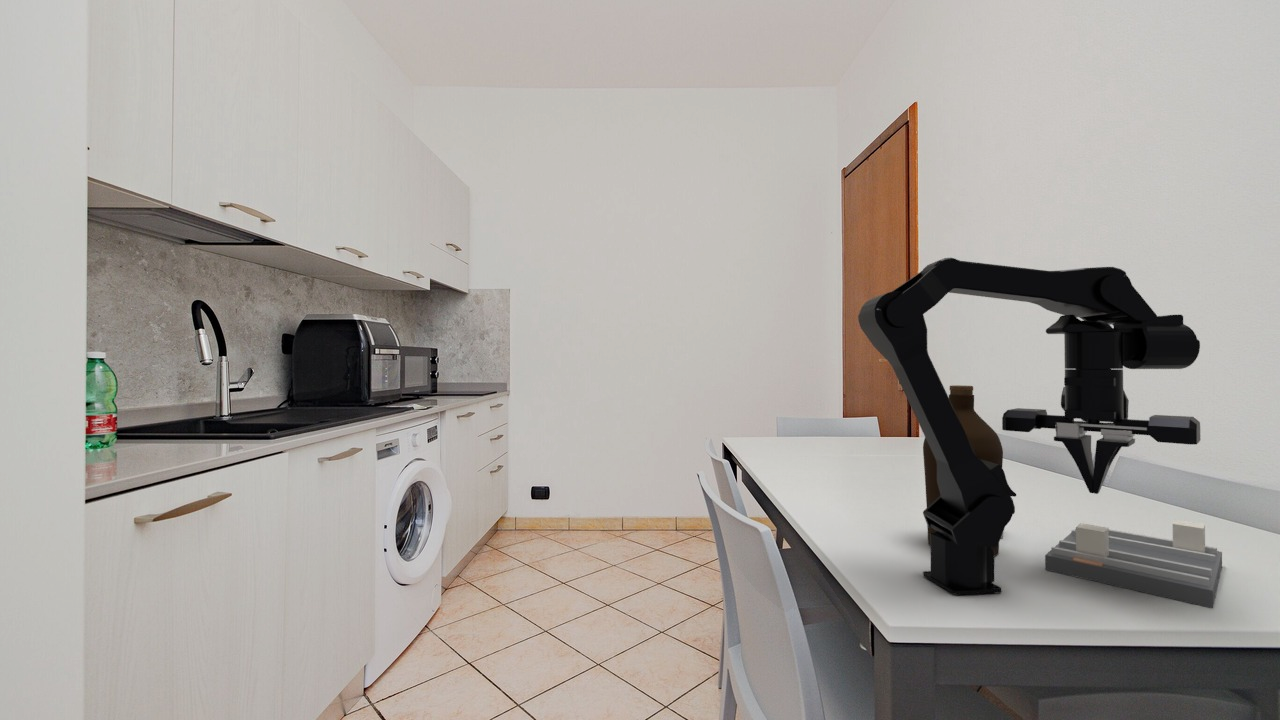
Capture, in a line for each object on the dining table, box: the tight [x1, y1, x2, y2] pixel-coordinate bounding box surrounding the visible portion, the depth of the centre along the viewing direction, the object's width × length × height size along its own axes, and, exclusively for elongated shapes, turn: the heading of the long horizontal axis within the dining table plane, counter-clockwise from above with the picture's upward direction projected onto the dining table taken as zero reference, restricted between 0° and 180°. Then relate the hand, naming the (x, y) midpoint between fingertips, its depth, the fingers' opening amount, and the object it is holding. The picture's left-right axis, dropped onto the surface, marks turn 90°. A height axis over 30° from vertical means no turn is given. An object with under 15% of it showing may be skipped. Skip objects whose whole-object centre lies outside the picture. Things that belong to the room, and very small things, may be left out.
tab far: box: [1172, 519, 1206, 553], centre depth 77 cm, size 3×3×4 cm
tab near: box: [1075, 522, 1110, 557], centre depth 75 cm, size 3×3×4 cm
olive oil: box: [922, 384, 1004, 557], centre depth 85 cm, size 11×11×25 cm
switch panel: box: [1044, 528, 1223, 609], centre depth 76 cm, size 20×16×3 cm
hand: (1094, 492), depth 70 cm, fingers closed
